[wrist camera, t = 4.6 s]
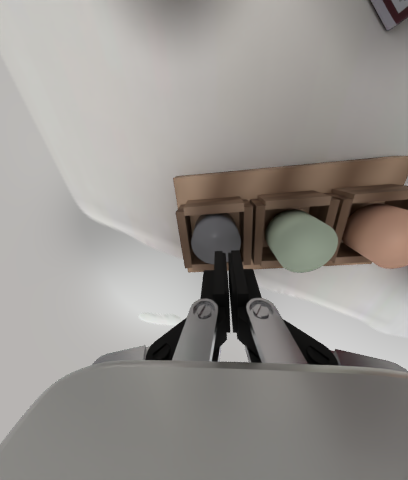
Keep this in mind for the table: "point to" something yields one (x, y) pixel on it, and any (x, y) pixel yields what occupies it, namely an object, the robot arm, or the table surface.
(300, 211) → the sage button
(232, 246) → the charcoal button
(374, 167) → the wooden compartment tray
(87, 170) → the table surface
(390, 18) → the supplement box
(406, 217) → the terracotta button
